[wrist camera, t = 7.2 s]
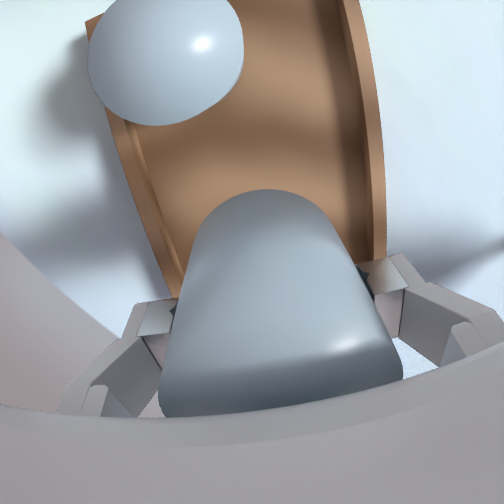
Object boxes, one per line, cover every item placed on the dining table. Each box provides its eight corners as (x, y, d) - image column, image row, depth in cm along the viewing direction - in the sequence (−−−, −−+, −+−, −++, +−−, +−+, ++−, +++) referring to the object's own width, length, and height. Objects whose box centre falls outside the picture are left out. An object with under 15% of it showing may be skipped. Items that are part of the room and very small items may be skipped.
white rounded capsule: (254, 97, 14) (258, 103, 9) (154, 122, 15) (108, 145, 10) (232, 3, 12) (224, -39, 7) (131, 32, 12) (75, 13, 7)
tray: (375, 260, 20) (385, 277, 18) (184, 295, 21) (180, 315, 19) (337, -26, 11) (348, -37, 9) (100, 26, 12) (84, 21, 11)
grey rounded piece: (331, 175, 10) (419, 290, 5) (342, 301, 12) (387, 432, 7) (173, 208, 10) (111, 344, 5) (215, 324, 13) (204, 461, 8)
